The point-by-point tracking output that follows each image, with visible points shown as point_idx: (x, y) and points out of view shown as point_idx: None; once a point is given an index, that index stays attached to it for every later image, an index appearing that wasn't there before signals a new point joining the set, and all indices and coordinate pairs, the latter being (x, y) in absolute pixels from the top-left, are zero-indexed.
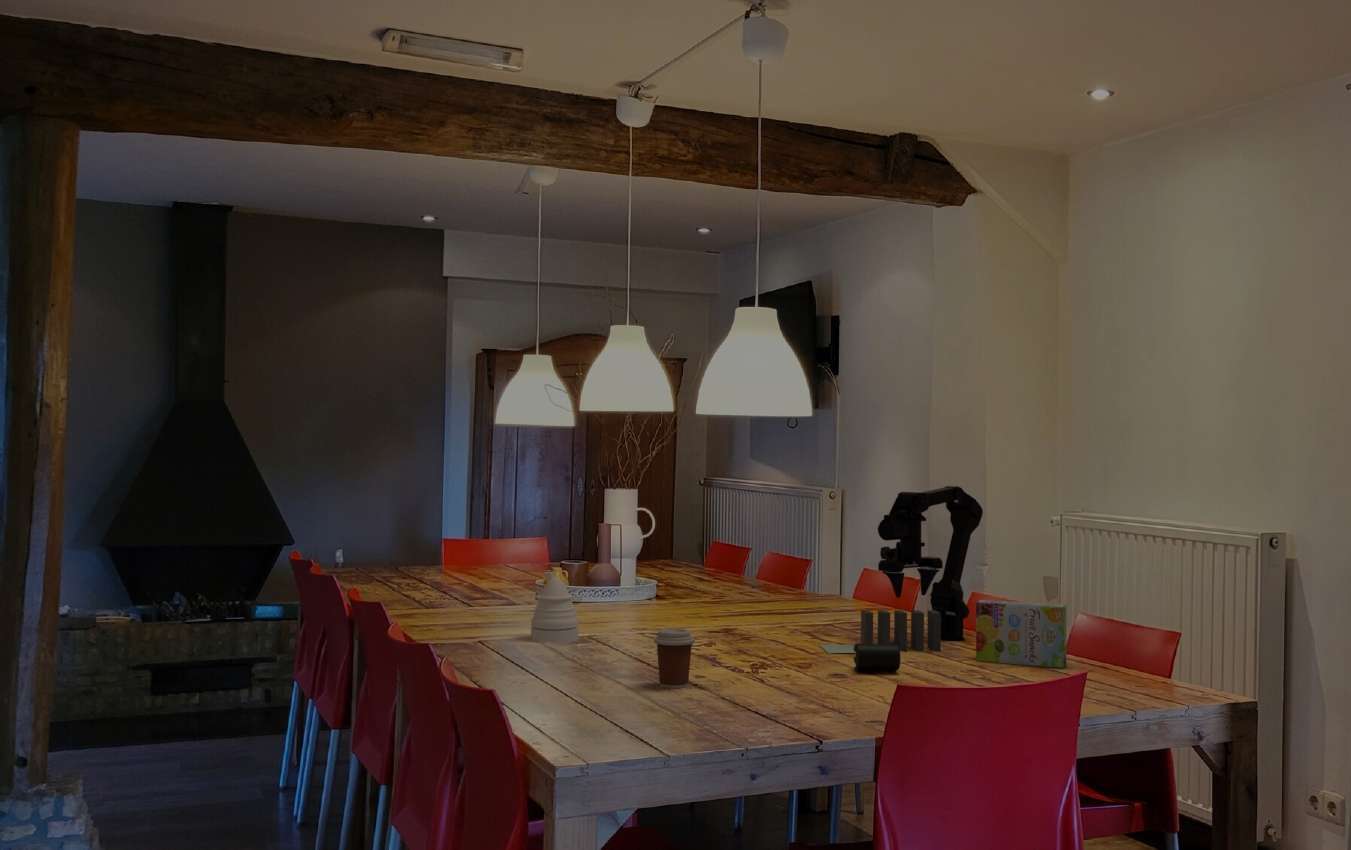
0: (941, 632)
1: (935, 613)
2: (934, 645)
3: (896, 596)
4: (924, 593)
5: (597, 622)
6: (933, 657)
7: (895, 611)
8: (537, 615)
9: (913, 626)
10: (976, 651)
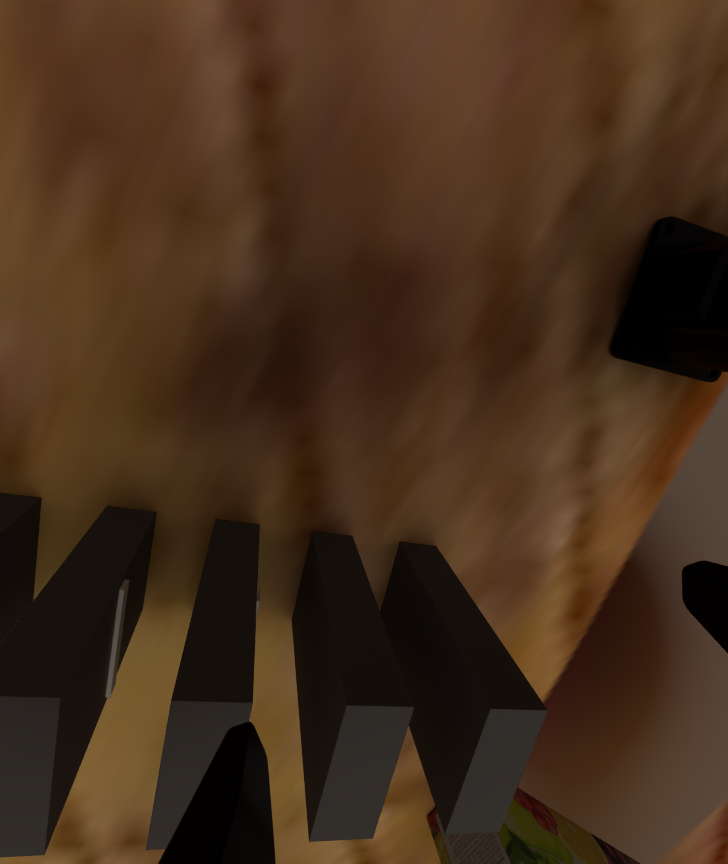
0: (652, 323)
1: (459, 830)
2: None
3: (227, 744)
4: (704, 625)
5: None
6: (296, 752)
7: (166, 729)
8: None
9: (315, 665)
10: (440, 860)
